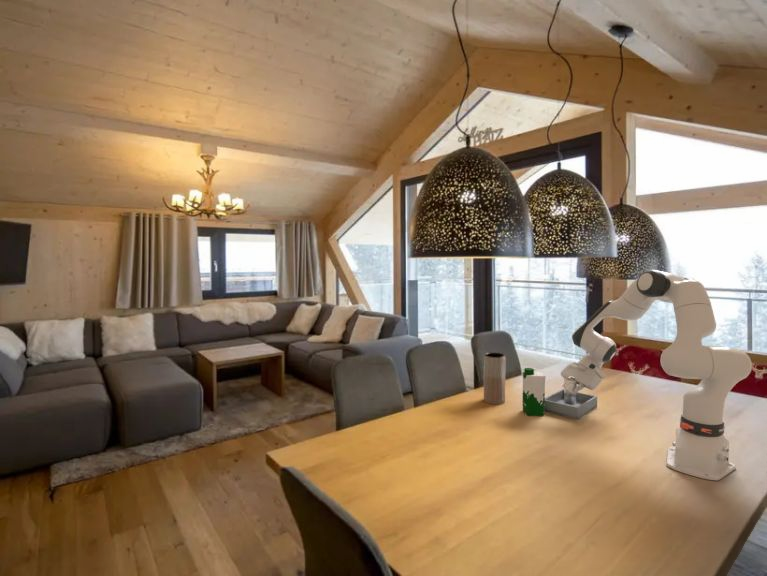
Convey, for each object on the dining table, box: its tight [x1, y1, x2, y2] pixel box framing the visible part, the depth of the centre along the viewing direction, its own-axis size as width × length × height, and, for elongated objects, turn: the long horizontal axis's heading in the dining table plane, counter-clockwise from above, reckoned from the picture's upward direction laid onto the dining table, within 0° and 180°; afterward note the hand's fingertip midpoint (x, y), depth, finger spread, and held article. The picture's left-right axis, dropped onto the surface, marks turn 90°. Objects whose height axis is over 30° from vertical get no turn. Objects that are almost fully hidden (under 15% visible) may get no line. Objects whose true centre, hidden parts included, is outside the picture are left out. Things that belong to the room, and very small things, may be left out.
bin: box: [544, 388, 598, 420], centre depth 197 cm, size 22×16×5 cm
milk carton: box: [522, 367, 546, 417], centre depth 191 cm, size 9×9×20 cm
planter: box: [483, 352, 507, 405], centre depth 208 cm, size 10×10×23 cm
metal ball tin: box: [563, 376, 578, 405], centre depth 197 cm, size 5×5×12 cm
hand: (569, 389), depth 197 cm, fingers closed on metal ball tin, 5 cm apart
